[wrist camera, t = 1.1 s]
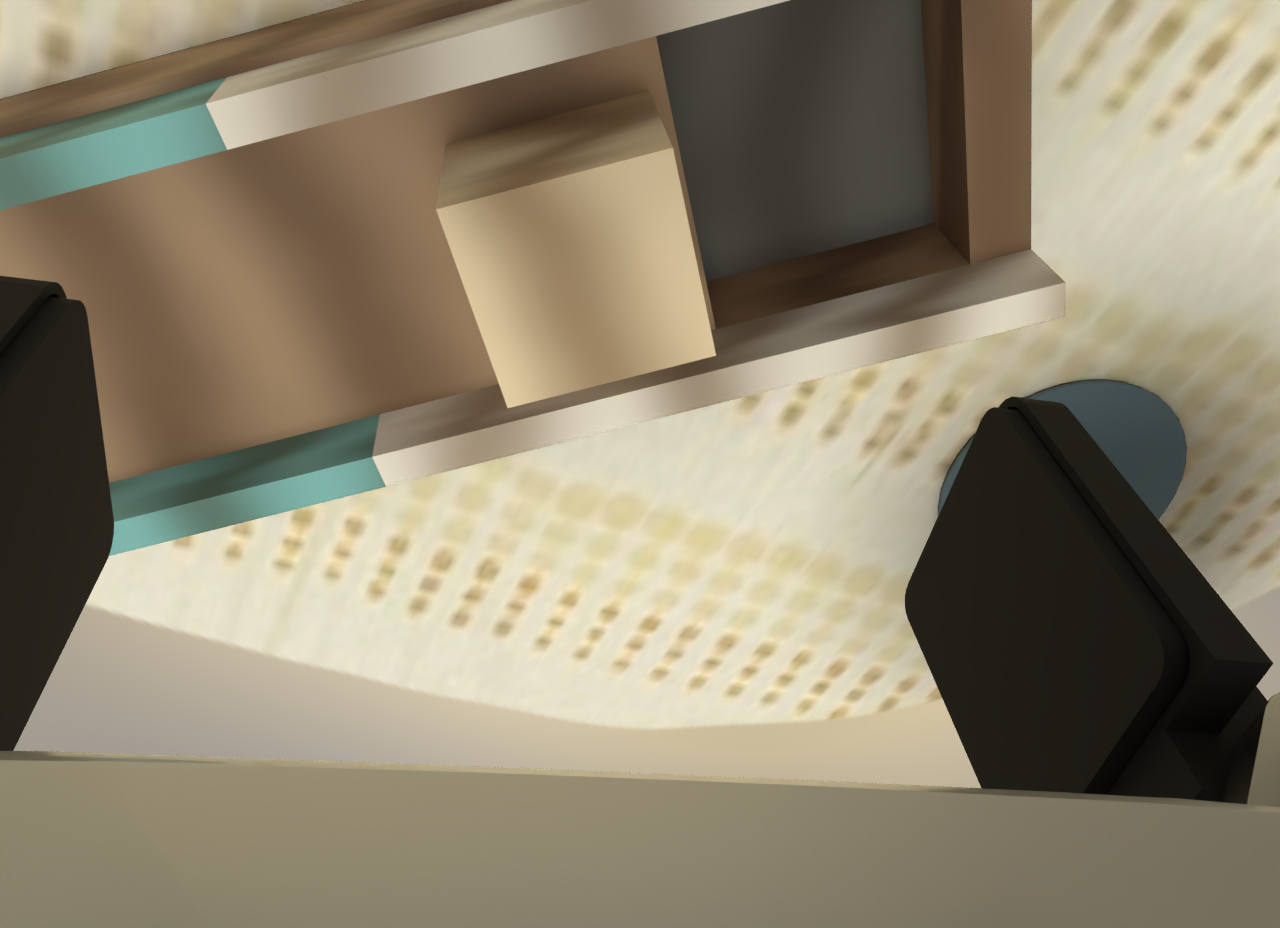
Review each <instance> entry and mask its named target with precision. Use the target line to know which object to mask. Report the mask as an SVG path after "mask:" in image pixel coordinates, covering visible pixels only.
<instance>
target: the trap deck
mask: <svg viewBox="0 0 1280 928" xmlns="http://www.w3.org/2000/svg"><path fill="white" fill-rule="evenodd" d="M1031 55H1032V0H365V1H362V2H358V3H354V4H351V5H347V6H343V7H339V8H336V9H332V10H328V11H325V12H321V13H317V14H314V15H310V16H306V17H302V18H299V19H295V20H291V21H288V22H284V23H280V24H277V25H273V26H269V27H266V28H262V29H258V30H254V31H251V32H247V33H243V34H240V35H236V36H232V37H229V38H225V39H221V40H217V41H214V42H210V43H206V44H203V45H199V46H195V47H192V48H188V49H184V50H181V51H177V52H173V53H169V54H166V55H162V56H158V57H155V58H151V59H147V60H144V61H140V62H136V63H132V64H129V65H125V66H121V67H118V68H114V69H110V70H107V71H103V72H99V73H95V74H92V75H88V76H84V77H81V78H77V79H73V80H70V81H66V82H62V83H59V84H55V85H51V86H47V87H44V88H40V89H36V90H33V91H29V92H25V93H22V94H18V95H14V96H10V97H7V98H3V99H0V276H8V277H16V278H25V279H33V280H41V281H50V282H57V283H59V284H60V285H61V286H62V288H63V290H64V292H65V294H66V297H67V299H73V300H80V301H81V302H82V303H83V304H84V306H85V308H86V312H87V317H88V324H89V332H90V339H91V347H92V355H93V362H94V370H95V378H96V386H97V393H98V401H99V409H100V417H101V424H102V432H103V440H104V447H105V455H106V463H107V471H108V478H109V486H110V494H111V501H112V509H113V517H114V536H113V542H112V547H111V551H110V554H109V556H111V555H115V554H119V553H123V552H127V551H131V550H135V549H139V548H143V547H147V546H151V545H155V544H159V543H163V542H167V541H171V540H175V539H179V538H183V537H187V536H191V535H195V534H199V533H203V532H207V531H211V530H215V529H219V528H223V527H227V526H231V525H235V524H239V523H243V522H246V521H250V520H254V519H258V518H262V517H266V516H270V515H274V514H278V513H282V512H286V511H290V510H294V509H298V508H302V507H306V506H310V505H314V504H318V503H322V502H326V501H330V500H334V499H338V498H342V497H346V496H350V495H354V494H358V493H362V492H366V491H370V490H374V489H378V488H382V487H386V486H390V485H394V484H398V483H402V482H406V481H410V480H414V479H418V478H422V477H426V476H430V475H434V474H438V473H442V472H446V471H450V470H454V469H458V468H462V467H466V466H470V465H474V464H478V463H482V462H486V461H490V460H494V459H498V458H502V457H506V456H510V455H514V454H518V453H522V452H526V451H530V450H534V449H538V448H542V447H546V446H550V445H554V444H558V443H562V442H566V441H570V440H574V439H578V438H582V437H586V436H590V435H594V434H598V433H602V432H606V431H610V430H614V429H618V428H622V427H626V426H630V425H634V424H638V423H642V422H646V421H650V420H654V419H658V418H662V417H666V416H670V415H674V414H677V413H681V412H685V411H689V410H693V409H697V408H701V407H705V406H709V405H713V404H717V403H721V402H725V401H729V400H733V399H737V398H741V397H745V396H749V395H753V394H757V393H761V392H765V391H769V390H773V389H777V388H781V387H785V386H789V385H793V384H797V383H801V382H805V381H809V380H813V379H817V378H821V377H825V376H829V375H833V374H837V373H841V372H845V371H849V370H853V369H857V368H861V367H865V366H869V365H873V364H877V363H881V362H885V361H889V360H893V359H897V358H901V357H905V356H909V355H913V354H917V353H921V352H925V351H929V350H933V349H937V348H941V347H945V346H949V345H953V344H957V343H961V342H965V341H969V340H973V339H977V338H981V337H985V336H989V335H993V334H997V333H1001V332H1005V331H1009V330H1013V329H1017V328H1021V327H1025V326H1029V325H1033V324H1037V323H1041V322H1045V321H1049V320H1053V319H1057V318H1061V317H1064V315H1065V282H1064V281H1063V280H1062V279H1061V278H1060V277H1059V276H1058V275H1057V274H1056V273H1055V272H1054V271H1053V270H1052V269H1051V268H1050V267H1049V266H1048V265H1047V264H1046V263H1045V262H1044V261H1043V260H1042V259H1041V258H1040V257H1038V256H1037V255H1036V254H1035V253H1034V252H1033V251H1032V250H1031ZM646 91H649V92H650V94H651V96H652V99H653V101H654V104H655V106H656V108H657V111H658V113H659V116H660V118H661V120H662V123H663V125H664V128H665V130H666V132H667V135H668V137H669V139H670V142H671V144H672V147H673V150H674V155H675V160H676V165H677V170H678V175H679V179H680V184H681V189H682V194H683V199H684V203H685V208H686V213H687V218H688V223H689V227H690V232H691V237H692V242H693V247H694V251H695V256H696V261H697V266H698V271H699V275H700V280H701V285H702V290H703V295H704V299H705V304H706V309H707V314H708V319H709V323H710V328H711V333H712V338H713V343H714V347H715V352H716V356H713V357H709V358H705V359H701V360H697V361H693V362H689V363H685V364H681V365H677V366H673V367H669V368H665V369H661V370H657V371H653V372H649V373H646V374H642V375H638V376H634V377H630V378H626V379H622V380H618V381H614V382H610V383H606V384H602V385H598V386H594V387H590V388H586V389H582V390H578V391H574V392H570V393H566V394H562V395H558V396H554V397H550V398H547V399H543V400H539V401H535V402H531V403H527V404H523V405H519V406H515V407H511V408H507V405H506V402H505V399H504V397H503V394H502V391H501V388H500V385H499V383H498V380H497V377H496V374H495V372H494V369H493V366H492V363H491V360H490V358H489V355H488V352H487V349H486V347H485V344H484V341H483V338H482V336H481V333H480V330H479V327H478V324H477V322H476V319H475V316H474V313H473V311H472V308H471V305H470V302H469V300H468V297H467V294H466V291H465V288H464V286H463V283H462V280H461V277H460V275H459V272H458V269H457V266H456V263H455V261H454V258H453V255H452V252H451V250H450V247H449V244H448V241H447V239H446V236H445V233H444V230H443V227H442V225H441V222H440V219H439V216H438V214H437V211H436V206H437V199H438V192H439V185H440V178H441V171H442V163H443V156H444V149H445V144H449V143H452V142H456V141H460V140H464V139H468V138H471V137H475V136H479V135H483V134H486V133H490V132H494V131H498V130H502V129H505V128H509V127H513V126H517V125H521V124H524V123H528V122H532V121H536V120H540V119H543V118H547V117H551V116H555V115H558V114H562V113H566V112H570V111H574V110H577V109H581V108H585V107H589V106H593V105H596V104H600V103H604V102H608V101H612V100H615V99H619V98H623V97H627V96H630V95H634V94H638V93H642V92H646Z"/></svg>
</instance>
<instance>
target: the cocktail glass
mask: <svg viewBox="0 0 1280 928" xmlns="http://www.w3.org/2000/svg"><path fill="white" fill-rule="evenodd" d="M1027 399H1036V400H1044V401H1052V402H1059V403H1063V404H1064V405H1065V406H1066V407H1068V408H1069V410H1070V411H1071V412H1072V413H1073V415H1074V416H1075V417H1076V418H1077V420H1078V421H1079V422H1080V423H1081V425H1082V426H1083V427H1084V428H1085V430H1086V431H1087V432H1088V433H1089V435H1090V436H1091V437H1092V438H1093V440H1094V441H1095V442H1096V443H1097V445H1098V446H1099V447H1100V448H1101V450H1102V451H1103V452H1104V453H1105V455H1106V456H1107V457H1108V458H1109V460H1110V461H1111V462H1112V463H1113V465H1114V466H1115V467H1116V468H1117V469H1118V471H1119V472H1120V473H1121V474H1122V476H1123V477H1124V478H1125V479H1126V481H1127V482H1128V483H1129V484H1130V486H1131V487H1132V488H1133V489H1134V491H1135V492H1136V493H1137V494H1138V496H1139V497H1140V498H1141V499H1142V501H1143V502H1144V503H1145V504H1146V506H1147V507H1148V508H1149V509H1150V511H1151V512H1152V513H1153V514H1154V516H1155V517H1156V518H1157V519H1159V518H1160V516H1161V515H1162V514H1163V513H1164V512H1165V510H1166V508H1167V507H1168V505H1169V504H1170V502H1171V500H1172V499H1173V497H1174V496H1175V493H1176V491H1177V489H1178V486H1179V484H1180V482H1181V480H1182V476H1183V472H1184V468H1185V464H1186V442H1185V435H1184V431H1183V429H1182V427H1181V424H1180V422H1179V419H1178V418H1177V416H1176V415H1175V413H1174V412H1173V411H1172V409H1171V408H1170V407H1169V406H1168V405H1167V404H1166V403H1165V402H1164V401H1162V400H1161V399H1160V398H1159V397H1158V396H1156V395H1155V394H1153V393H1151V392H1149V391H1147V390H1145V389H1143V388H1141V387H1138V386H1135V385H1132V384H1128V383H1125V382H1118V381H1109V380H1091V381H1080V382H1074V383H1069V384H1063V385H1060V386H1057V387H1053V388H1050V389H1047V390H1044V391H1041V392H1039V393H1037V394H1034V395H1032V396H1030V397H1028V398H1027ZM973 438H974V437H973ZM973 438H972V439H971V440H970V441H969V442H968V443H967V445H966V446H965V447H964V448H963V450H962V451H961V452H960V454H959V455H958V456H957V458H956V460H955V461H954V463H953V465H952V467H951V468H950V470H949V472H948V474H947V476H946V479H945V482H944V484H943V487H942V490H941V495H940V500H939V506H938V510H939V514H940V512H941V509H942V507H943V505H944V503H945V500H946V498H947V496H948V494H949V491H950V489H951V487H952V485H953V482H954V480H955V478H956V476H957V474H958V471H959V469H960V467H961V465H962V462H963V460H964V458H965V456H966V453H967V451H968V449H969V447H970V445H971V442H972V440H973Z"/></svg>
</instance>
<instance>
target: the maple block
mask: <svg viewBox="0 0 1280 928" xmlns="http://www.w3.org/2000/svg"><path fill="white" fill-rule="evenodd" d="M436 211H437V214H438V216H439V219H440V222H441V225H442V227H443V230H444V233H445V236H446V239H447V241H448V244H449V247H450V250H451V252H452V255H453V258H454V261H455V263H456V266H457V269H458V272H459V275H460V277H461V280H462V283H463V286H464V288H465V291H466V294H467V297H468V300H469V302H470V305H471V308H472V311H473V313H474V316H475V319H476V322H477V324H478V327H479V330H480V333H481V336H482V338H483V341H484V344H485V347H486V349H487V352H488V355H489V358H490V360H491V363H492V366H493V369H494V372H495V374H496V377H497V380H498V383H499V385H500V388H501V391H502V394H503V397H504V399H505V402H506V405H507V408H511V407H515V406H519V405H523V404H527V403H531V402H535V401H539V400H543V399H547V398H550V397H554V396H558V395H562V394H566V393H570V392H574V391H578V390H582V389H586V388H590V387H594V386H598V385H602V384H606V383H610V382H614V381H618V380H622V379H626V378H630V377H634V376H638V375H642V374H646V373H649V372H653V371H657V370H661V369H665V368H669V367H673V366H677V365H681V364H685V363H689V362H693V361H697V360H701V359H705V358H709V357H713V356H716V352H715V347H714V343H713V338H712V333H711V328H710V323H709V319H708V314H707V309H706V304H705V299H704V295H703V290H702V285H701V280H700V275H699V271H698V266H697V261H696V256H695V251H694V247H693V242H692V237H691V232H690V227H689V223H688V218H687V213H686V208H685V203H684V199H683V194H682V189H681V184H680V179H679V175H678V170H677V165H676V160H675V155H674V150H673V147H672V144H671V142H670V139H669V137H668V135H667V132H666V130H665V128H664V125H663V123H662V120H661V118H660V116H659V113H658V111H657V108H656V106H655V104H654V101H653V99H652V96H651V94H650V92H649V91H646V92H642V93H638V94H634V95H630V96H627V97H623V98H619V99H615V100H612V101H608V102H604V103H600V104H596V105H593V106H589V107H585V108H581V109H577V110H574V111H570V112H566V113H562V114H558V115H555V116H551V117H547V118H543V119H540V120H536V121H532V122H528V123H524V124H521V125H517V126H513V127H509V128H505V129H502V130H498V131H494V132H490V133H486V134H483V135H479V136H475V137H471V138H468V139H464V140H460V141H456V142H452V143H449V144H445V149H444V156H443V163H442V171H441V178H440V185H439V192H438V199H437V206H436Z"/></svg>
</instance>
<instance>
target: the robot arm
mask: <svg viewBox="0 0 1280 928" xmlns="http://www.w3.org/2000/svg"><path fill="white" fill-rule="evenodd" d="M113 536H114V517H113V509H112V501H111V494H110V486H109V478H108V471H107V463H106V455H105V447H104V440H103V432H102V424H101V417H100V409H99V401H98V393H97V386H96V378H95V370H94V362H93V355H92V347H91V339H90V332H89V324H88V317H87V312H86V308H85V306H84V304H83V303H82V302H81V301H80V300H73V299H67V297H66V294H65V292H64V290H63V288H62V286H61V285H60V284H59V283H57V282H50V281H41V280H33V279H25V278H16V277H8V276H0V928H1280V693H1278V694H1275V695H1273V696H1272V697H1271V698H1270V699H1269V701H1267V700H1266V698H1265V697H1264V696H1263V695H1262V693H1261V692H1260V691H1259V689H1258V688H1257V687H1256V685H1257V684H1258V683H1259V682H1260V680H1261V679H1262V678H1263V676H1264V675H1265V674H1266V672H1267V671H1268V670H1269V668H1270V667H1271V666H1272V664H1273V662H1272V661H1271V660H1270V659H1269V657H1268V656H1267V655H1266V654H1265V652H1264V651H1263V650H1262V649H1261V648H1260V646H1259V645H1258V644H1257V643H1256V641H1255V640H1254V639H1253V638H1252V636H1251V635H1250V634H1249V633H1248V631H1247V630H1246V629H1245V628H1244V626H1243V625H1242V624H1241V623H1240V621H1239V620H1238V619H1237V618H1236V616H1235V615H1234V614H1233V613H1232V611H1231V610H1230V609H1229V608H1228V606H1227V605H1226V604H1225V603H1224V601H1223V600H1222V599H1221V598H1220V596H1219V595H1218V594H1217V593H1216V591H1215V590H1214V589H1213V588H1212V587H1211V585H1210V584H1209V583H1208V582H1207V580H1206V579H1205V578H1204V577H1203V575H1202V574H1201V573H1200V572H1199V570H1198V569H1197V568H1196V567H1195V565H1194V564H1193V563H1192V562H1191V560H1190V559H1189V558H1188V557H1187V555H1186V554H1185V553H1184V552H1183V550H1182V549H1181V548H1180V547H1179V545H1178V544H1177V543H1176V542H1175V540H1174V539H1173V538H1172V537H1171V535H1170V534H1169V533H1168V532H1167V530H1166V529H1165V528H1164V527H1163V526H1162V524H1161V523H1160V522H1159V521H1158V519H1157V518H1156V517H1155V516H1154V514H1153V513H1152V512H1151V511H1150V509H1149V508H1148V507H1147V506H1146V504H1145V503H1144V502H1143V501H1142V499H1141V498H1140V497H1139V496H1138V494H1137V493H1136V492H1135V491H1134V489H1133V488H1132V487H1131V486H1130V484H1129V483H1128V482H1127V481H1126V479H1125V478H1124V477H1123V476H1122V474H1121V473H1120V472H1119V471H1118V469H1117V468H1116V467H1115V466H1114V465H1113V463H1112V462H1111V461H1110V460H1109V458H1108V457H1107V456H1106V455H1105V453H1104V452H1103V451H1102V450H1101V448H1100V447H1099V446H1098V445H1097V443H1096V442H1095V441H1094V440H1093V438H1092V437H1091V436H1090V435H1089V433H1088V432H1087V431H1086V430H1085V428H1084V427H1083V426H1082V425H1081V423H1080V422H1079V421H1078V420H1077V418H1076V417H1075V416H1074V415H1073V413H1072V412H1071V411H1070V410H1069V408H1068V407H1066V406H1065V405H1064V404H1063V403H1059V402H1052V401H1044V400H1036V399H1027V398H1019V397H1011V398H1008V399H1006V400H1005V401H1004V402H1003V403H1002V404H1001V405H1000V406H999V408H995V407H994V408H992V409H989V410H988V411H987V412H986V413H985V415H984V417H983V418H982V420H981V422H980V424H979V427H978V429H977V431H976V433H975V436H974V438H973V440H972V442H971V445H970V447H969V449H968V451H967V453H966V456H965V458H964V460H963V462H962V465H961V467H960V469H959V471H958V474H957V476H956V478H955V480H954V482H953V485H952V487H951V489H950V491H949V494H948V496H947V498H946V500H945V503H944V505H943V507H942V509H941V512H940V514H939V516H938V518H937V520H936V523H935V525H934V527H933V529H932V532H931V534H930V536H929V538H928V541H927V543H926V545H925V547H924V549H923V552H922V554H921V556H920V558H919V561H918V563H917V565H916V567H915V570H914V572H913V574H912V576H911V579H910V581H909V583H908V586H907V589H906V595H905V609H906V614H907V617H908V620H909V622H910V625H911V627H912V629H913V632H914V634H915V636H916V638H917V641H918V643H919V645H920V648H921V650H922V652H923V654H924V657H925V659H926V661H927V664H928V666H929V668H930V671H931V673H932V675H933V677H934V680H935V682H936V684H937V687H938V689H939V691H940V694H941V696H942V698H943V700H944V703H945V705H946V707H947V709H948V712H949V714H950V716H951V719H952V721H953V723H954V726H955V728H956V730H957V732H958V735H959V737H960V739H961V742H962V744H963V746H964V749H965V751H966V753H967V756H968V758H969V760H970V762H971V765H972V767H973V769H974V772H975V774H976V776H977V778H978V781H979V783H980V785H981V788H962V787H940V786H920V785H899V784H877V783H857V782H835V781H815V780H790V779H768V778H767V779H766V778H745V777H721V776H697V775H675V774H651V773H626V772H603V771H578V770H577V771H576V770H553V769H529V768H504V767H480V766H450V765H424V764H397V763H396V764H395V763H370V762H342V761H314V760H286V759H261V758H233V757H205V756H178V755H176V756H175V755H146V754H115V753H112V754H111V753H83V752H53V751H13V750H14V748H15V746H16V744H17V742H18V740H19V738H20V736H21V734H22V731H23V730H24V727H25V726H26V723H27V722H28V719H29V717H30V715H31V713H32V711H33V709H34V707H35V705H36V703H37V701H38V699H39V697H40V695H41V693H42V691H43V689H44V687H45V685H46V683H47V681H48V679H49V677H50V675H51V673H52V671H53V669H54V667H55V665H56V662H57V661H58V659H59V656H60V654H61V652H62V650H63V648H64V646H65V644H66V642H67V640H68V638H69V636H70V634H71V632H72V630H73V628H74V626H75V624H76V622H77V620H78V618H79V616H80V614H81V612H82V610H83V608H84V606H85V604H86V602H87V600H88V598H89V596H90V594H91V591H92V589H93V587H94V585H95V583H96V581H97V579H98V577H99V575H100V573H101V571H102V569H103V567H104V565H105V563H106V561H107V559H108V556H109V554H110V551H111V547H112V542H113Z"/></svg>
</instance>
